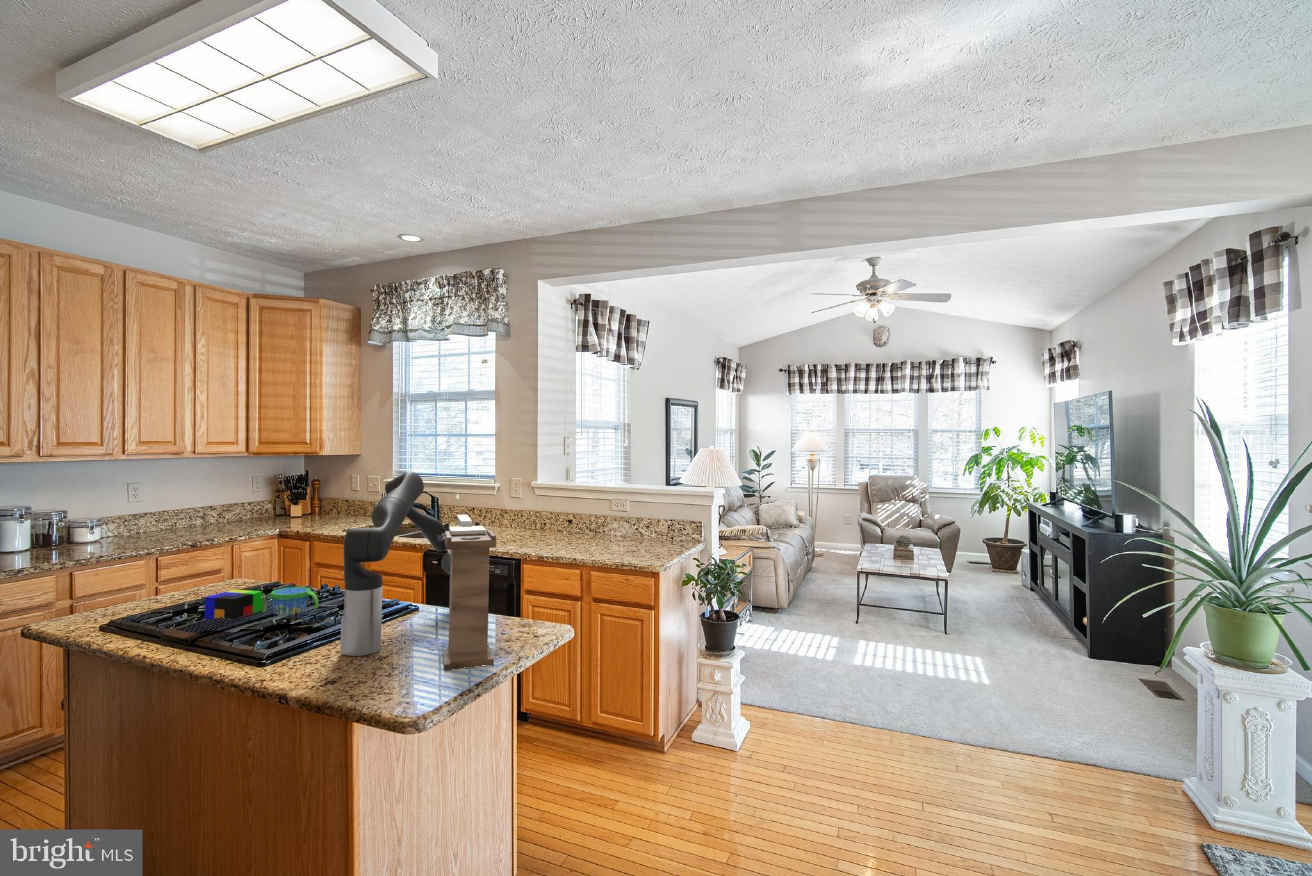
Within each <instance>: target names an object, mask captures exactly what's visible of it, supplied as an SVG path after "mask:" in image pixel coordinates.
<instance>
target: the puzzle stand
mask: <svg viewBox="0 0 1312 876" xmlns="http://www.w3.org/2000/svg"><path fill="white" fill-rule="evenodd" d="M445 546H446V551H448V550H451V553H450V574H449V598H448V599H449V600H448V602H449V605H448V606H449V607H448V608H449V610H448V647H447V648H445V649H442V650H441V651H442V652H441V655H442V656H441V657H442V665H443V666H444V667H443V671H444V672H447V671H453V670H452V669H455V670H461V669H460V668H464V667H472V668H476V667H475V666H481V667H483V666H482V665H489V666H494V665H495V662H494V661H495V658H494V656H493V653H492V651H491V647H490V645H489V644H488V640H489V637H488V636H489V599H490V598H489V594H490V593H489V591H490V589H489V588H490V587H489V586H490V548H491V549H494V548H497V535H496V534H495V533H494V532H493V531H492V530H491V529H486V534H463V535H450V532H449V531H445ZM464 669H465V668H464Z"/></svg>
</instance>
